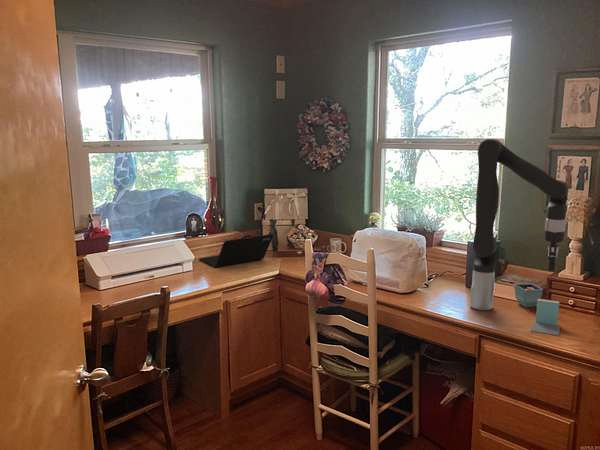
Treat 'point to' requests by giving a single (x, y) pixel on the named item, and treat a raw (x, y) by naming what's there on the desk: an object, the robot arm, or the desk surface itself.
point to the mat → (545, 329)
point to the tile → (547, 312)
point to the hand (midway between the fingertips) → (551, 268)
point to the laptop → (240, 251)
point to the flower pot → (527, 295)
